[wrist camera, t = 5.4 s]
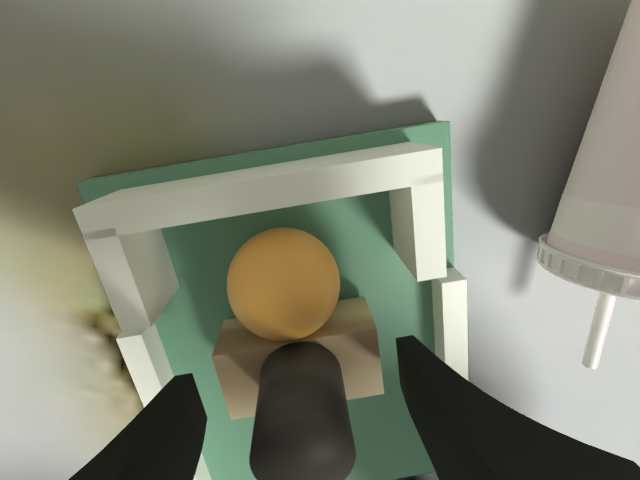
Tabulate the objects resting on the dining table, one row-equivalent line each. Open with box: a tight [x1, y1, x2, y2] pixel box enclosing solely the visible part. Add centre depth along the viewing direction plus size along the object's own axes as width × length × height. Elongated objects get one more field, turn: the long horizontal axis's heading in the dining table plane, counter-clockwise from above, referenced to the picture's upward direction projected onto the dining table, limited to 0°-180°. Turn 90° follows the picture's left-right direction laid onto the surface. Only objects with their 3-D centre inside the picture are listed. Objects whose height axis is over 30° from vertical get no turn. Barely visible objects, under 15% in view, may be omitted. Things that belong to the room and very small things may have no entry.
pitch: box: [72, 121, 468, 480], centre depth 15 cm, size 18×14×4 cm
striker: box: [211, 296, 384, 480], centre depth 13 cm, size 3×6×6 cm, turn 99°
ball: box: [226, 228, 340, 341], centre depth 13 cm, size 4×4×4 cm
